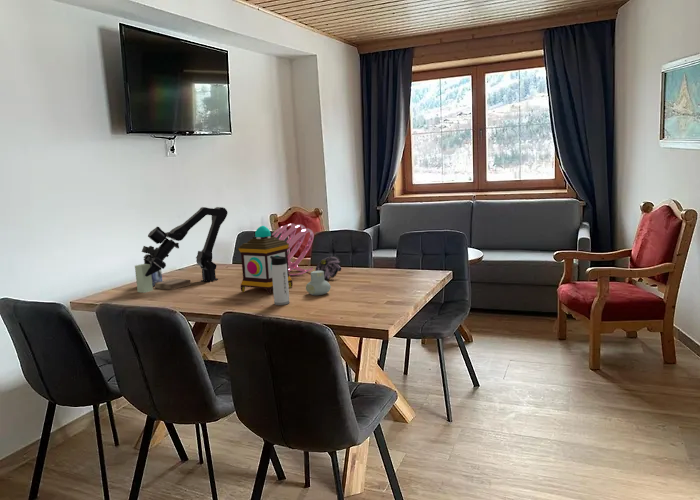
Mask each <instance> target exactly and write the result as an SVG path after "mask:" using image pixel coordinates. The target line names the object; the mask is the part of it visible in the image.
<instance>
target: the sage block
mask: <svg viewBox="0 0 700 500" xmlns="http://www.w3.org/2000/svg"><path fill="white" fill-rule="evenodd" d="M149 268H150V264H144V263H141V264H136V265H134V269H135V279H136V289H137V293H144V294H145V293H148V292H149V293H150V292H153V291H154V286H152V277H151V275H149V276H147V277H146V276H145V274H146V272H147V271H148V269H149Z"/></svg>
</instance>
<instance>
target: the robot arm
mask: <svg viewBox="0 0 700 500" xmlns="http://www.w3.org/2000/svg"><path fill="white" fill-rule="evenodd" d="M227 215H228V210H227V209H226V208H225V207H223V206H221V207H220V206H216V207H214V208H213V207H207V206H206V207H203V206H202V207H200V208H199V209H198V210H197V211H196V212H195V213H194V214H193V215H192V216H190V217H188V218H187V220H185V221H184V222H183V223H181V224H180V225H177V226H175V227H174V228H172V229H171V230H169V231H168V232H165V231H164V230H162V229H161V227H160V226H156V227H155V228H153V229H152V230H151V231H149V233H148V235H147V237H148V238H149V239H150V240H151V241H153V242H154V243H155V244H156V245H159V244H160V245H159V246H158V247H155V246H152V245H149V246H146V245H143V247H142V249H141V252H142V253H144V254H145V255H144V256H143V257H142V258H143V264H150V268H149V269H148V271H147V272H146V274H145V276H146V277H147V276H149V275H151V274H153V273H155V272H157V271H159V270H161V271H162V269H163V270H164V269H165V268H166V267H167V264H166V262H165V261H164V260H165V259H166V258H168V257H169V255H170V253H171V252H172V250H173V249H180V245H179V242H180V241H183V239H185V237H186V236H187V234H188V233H189V231H190V230H191V229H192V228H193V227H194V226H195V225H197V224H198V223H199V222H201V221H202V220H203V218H205V217H206V216H211V225H210V227H209V229H208V233H207V236H206V239H205V242H204V244H203V245H204V246H203V248H202V250H198V251H197V254H196V255H197V256H196V257H195V259H196V264H197V266H199V267H200V269H201V277H202V278H201V280H200V282H208V283H210V282H214V281H217V280H219V278H217V277H216V269H217V264H215V262H213V250H214V247H215V244H216V240H217V238H218V237H217V236H218V233H219V230H220V229H221V225H222V224H223V222H225V220H226V218H227ZM169 238H170V239H169ZM176 241H178V242H176Z"/></svg>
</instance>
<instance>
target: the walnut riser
mask: <svg viewBox="0 0 700 500" xmlns="http://www.w3.org/2000/svg"><path fill="white" fill-rule="evenodd" d="M191 285H192V284H191V279H184V278H170V279H167V280H162V282H158V283H155V286H154V287H155V289H161V290H162V289H163V290H170V291H173V290H176V289H177V290H178V289H180V288H183V287H188V286H191Z"/></svg>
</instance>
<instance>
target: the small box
mask: <svg viewBox="0 0 700 500" xmlns="http://www.w3.org/2000/svg"><path fill="white" fill-rule="evenodd" d="M151 277H152V286H153V287H155V283H158V282H162V281H163V273H162V269H161V270H159V271H157V272H155V273H153V274H151Z"/></svg>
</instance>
